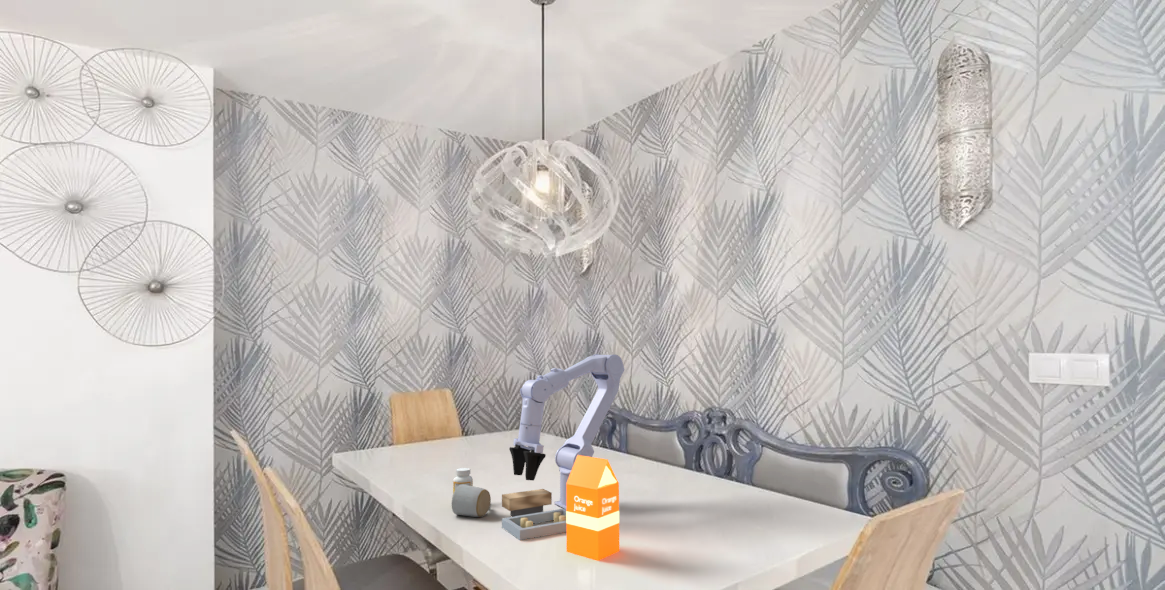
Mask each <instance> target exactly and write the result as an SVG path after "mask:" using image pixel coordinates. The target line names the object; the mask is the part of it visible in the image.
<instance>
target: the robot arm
mask: <svg viewBox="0 0 1165 590" xmlns="http://www.w3.org/2000/svg"><path fill="white" fill-rule="evenodd" d="M624 372H625V367H624V363H623V360H622V358H621V357H620V356H619V355H618V354H615V353H614V354H598V353H595V354H592V355H590V356H587V357H586V358H584V359H582V360H580V361H579V362H577V363H574V364H573V365H571V366H569V367H567V368H565V369H562V368H558V367H552V368H551V369H550V371H549V372H547V373H545V374H543V375H542V374H538V375H537V376H536V379H528V380H526V381H524V384H523V385H522V387H521V388H520V389H519V392H520V393H519V394H520V397H521V399H522V401H521V402H522V403H521V405H522V406H521V413H520V422H519V428H518V436H517V437H518V438H513V444H512V445H513V446H514V447H511V446H510V447H509V452H510V455H511V459H512V468H513V469H512V470H513V475H514V476H523V473H524V469H525V474H524V475H525V481H535V479H536V476H537V474H538V470H539V468H540V466H541V464H542V462H543V461H544V460H545V458H546V455H547V454H546V453H544V446H545V445H543V444H541V443H540V438H541V431H542V423H543V414H544V407H545V402H546V401H547V400H549V398H550V396H551V395H554V394H555V393H557V392H559V391H561V390H564V389H566V388H567V387H568V386H569V383H570V381H573V380H575V379H577V378H579V377H582V376H584V375H587V374H589V373H590V375H591V377H592V379H593V380H594V382H595V384H596V385H597V390H596V393H595V395H594V397H593V399H592V400H591V401H590V403H589V406H588V408H587V410H586V412H585V414H584V416H583V417H582V419H581V421H580V424H579V425H578V427H577V429H576V431H575V433H574V435H572V436H571V437H569V438H568V439H566V440H565V441H564V442H563V445H561V446H560V447H559V448H558V449H557V450H556V452H555V454H554V455H555V456H554V461H555V464H556V466H557V467H558V470H559V475H560V476H559V493H560V494H559V496H560V497H559V500H558V501H554V505H556V506H559V507H560V508H561V509H564V508H565V509H566V483H567V480H568V478H569V475H570V473H571V470H572V468H573V465H574V463H575V460H576V458H577V455H581V456H588V457H594V453H595V450H594V448H593V445H592V444H593V441H594V440H595V438H596V436H597V434H598V432H599V430H600V429H601V425H602V424H603V422H604V420H605V418H606V416H607V414H608V412H609V410H610V408H611V407H612V404H613V403H614V401H615V398H616V397H617V394H618V393H619V387H620V382H621V378H622V376H623V374H624Z"/></svg>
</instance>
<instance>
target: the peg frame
mask: <svg viewBox="0 0 1165 590" xmlns="http://www.w3.org/2000/svg"><path fill="white" fill-rule="evenodd" d="M550 520H554V521H553V522H552V523H551V521H550ZM545 521H548V522H550V523H546V522H545ZM539 522H542V523H545V524H540V523H539ZM533 523H536V524H539V525H534V524H533ZM501 528H502V529H503V528H504V529H505V531H506V530H507V531H508V533H509V534H510V533H511V534H510V535H512V536H513V535H514V536H515V538H516V539H517V538H518V541H523V540H522V539H525V540H528V539H527V538H530V539H533V538H534V537H535V538H540V536H541V537H544V536H546V537H547V536H549V535H550V536H552V535H557V534H562V532H563V533H567V523H566V509H565V508H559V509H558V508H557V509H551V510H546V511H543V512H539V513H533V514H526V515H520V516H514V517H511V516H508V517H504V518H501ZM504 529H503V530H504ZM507 531H506V532H507ZM514 536H513V537H514Z"/></svg>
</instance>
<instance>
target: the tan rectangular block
mask: <svg viewBox="0 0 1165 590" xmlns="http://www.w3.org/2000/svg"><path fill="white" fill-rule="evenodd" d="M552 493H553V492H551V491H549V490H546V489H545V488H539V489H532V490H526V491H519V492H511V493H504V494H503V493H502V494H501V507H503V508H504V509H506V510H507V511H509V512H510V511H512V510H519V509H525V508H532V507H538V506H543V507H545V506H550V505H552V501H553V500H552Z"/></svg>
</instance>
